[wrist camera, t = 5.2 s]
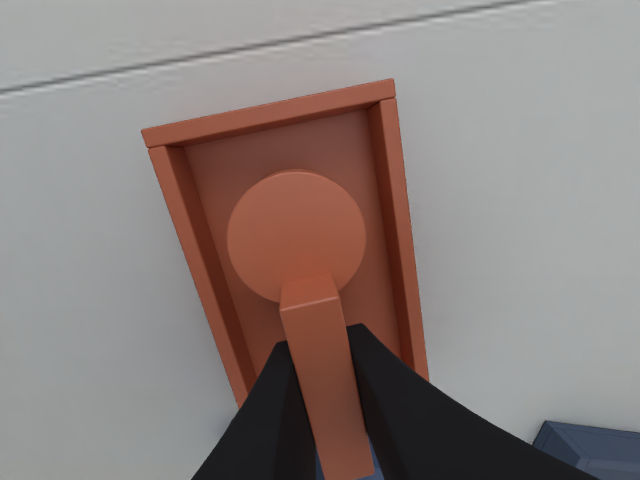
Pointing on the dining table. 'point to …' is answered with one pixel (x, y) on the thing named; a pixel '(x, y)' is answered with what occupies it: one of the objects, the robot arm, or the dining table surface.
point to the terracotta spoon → (309, 298)
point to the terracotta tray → (282, 154)
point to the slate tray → (593, 449)
